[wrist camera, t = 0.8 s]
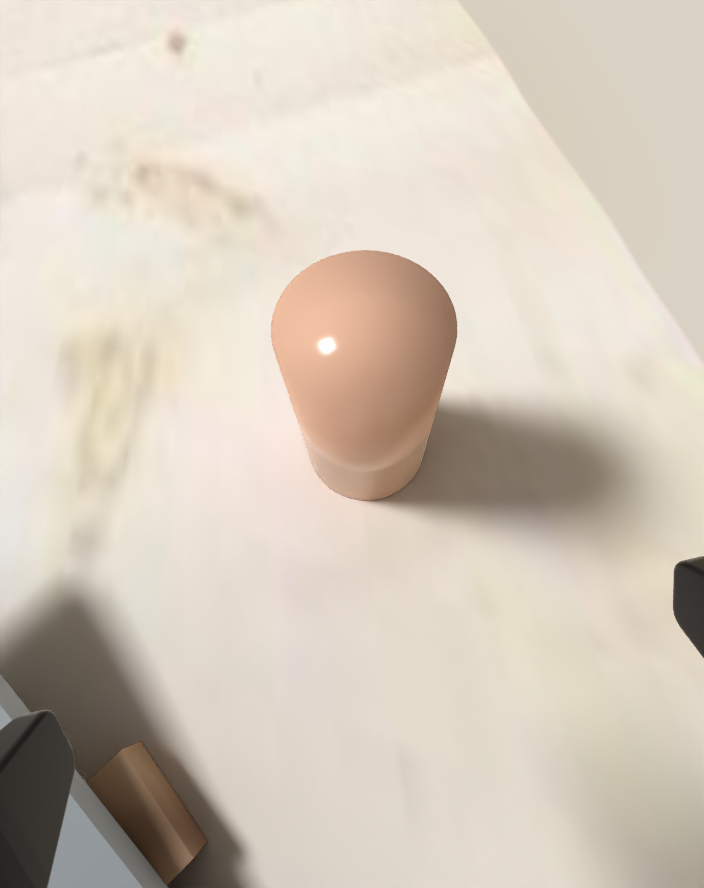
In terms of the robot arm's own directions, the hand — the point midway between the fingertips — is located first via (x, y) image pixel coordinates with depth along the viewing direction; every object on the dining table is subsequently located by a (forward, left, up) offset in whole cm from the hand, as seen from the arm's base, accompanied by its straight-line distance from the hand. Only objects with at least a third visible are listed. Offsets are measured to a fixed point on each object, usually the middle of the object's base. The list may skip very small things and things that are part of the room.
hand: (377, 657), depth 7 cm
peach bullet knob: (+7, -5, -13) cm, 15 cm away
